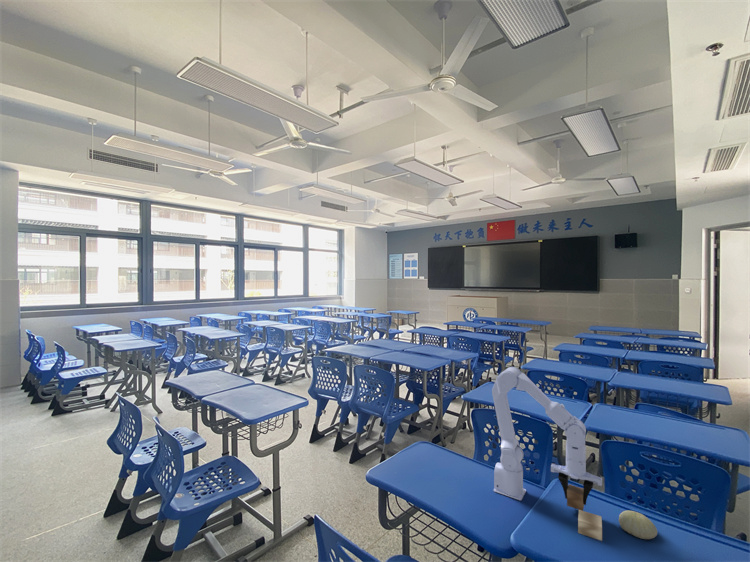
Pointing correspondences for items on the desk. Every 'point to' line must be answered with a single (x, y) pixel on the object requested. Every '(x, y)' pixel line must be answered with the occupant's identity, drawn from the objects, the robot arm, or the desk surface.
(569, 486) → the walnut block
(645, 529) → the sea urchin shell
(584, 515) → the beech base
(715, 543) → the desk surface
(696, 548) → the desk surface
